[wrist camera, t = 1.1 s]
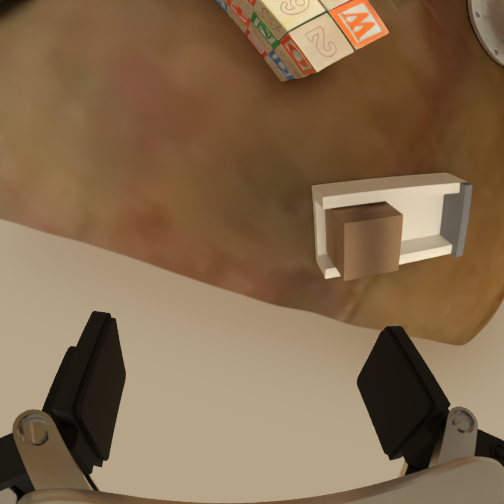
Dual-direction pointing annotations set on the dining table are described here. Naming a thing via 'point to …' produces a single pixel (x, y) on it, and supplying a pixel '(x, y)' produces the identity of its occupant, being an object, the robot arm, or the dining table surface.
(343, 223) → the walnut block
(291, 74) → the stack of blocks
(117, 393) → the robot arm
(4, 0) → the squash
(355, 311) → the dining table surface
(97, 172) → the dining table surface
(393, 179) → the chute
